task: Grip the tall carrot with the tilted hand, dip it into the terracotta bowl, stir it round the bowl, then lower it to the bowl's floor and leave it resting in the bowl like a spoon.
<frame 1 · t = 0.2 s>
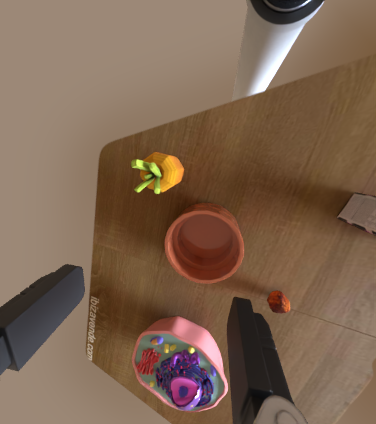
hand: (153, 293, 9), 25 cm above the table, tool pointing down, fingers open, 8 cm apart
carrot: (177, 169, 32), on the table
cell model: (184, 333, 41), on the table
mixing bowl: (206, 233, 34), on the table
meatball: (274, 294, 35), on the table
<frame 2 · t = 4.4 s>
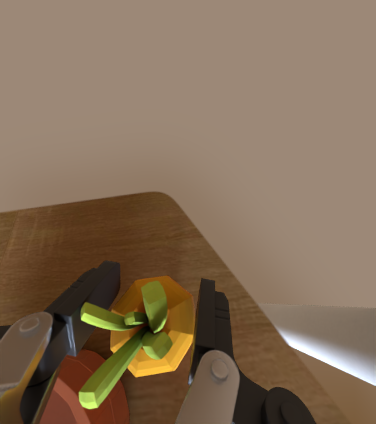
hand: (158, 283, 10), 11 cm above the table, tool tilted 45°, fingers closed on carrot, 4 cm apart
carrot: (170, 310, 19), on the table, touching gripper
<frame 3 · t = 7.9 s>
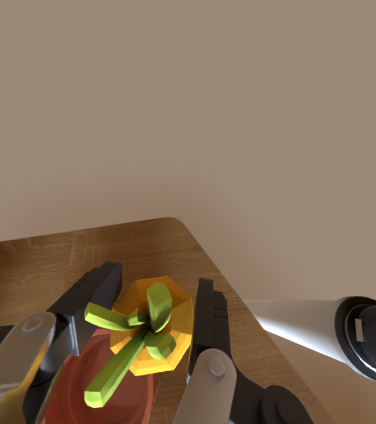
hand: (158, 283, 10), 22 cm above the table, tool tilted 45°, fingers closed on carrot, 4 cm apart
carrot: (166, 309, 20), point 11 cm above the table, touching gripper
mixing bowl: (118, 371, 26), on the table
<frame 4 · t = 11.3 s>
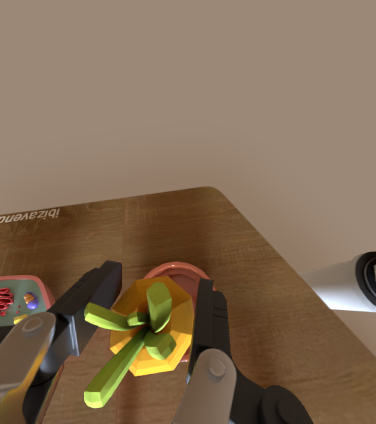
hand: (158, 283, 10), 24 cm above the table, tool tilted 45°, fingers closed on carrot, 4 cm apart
carrot: (166, 310, 19), point 13 cm above the table, touching gripper
cell model: (25, 339, 29), on the table
mixing bowl: (178, 305, 31), on the table
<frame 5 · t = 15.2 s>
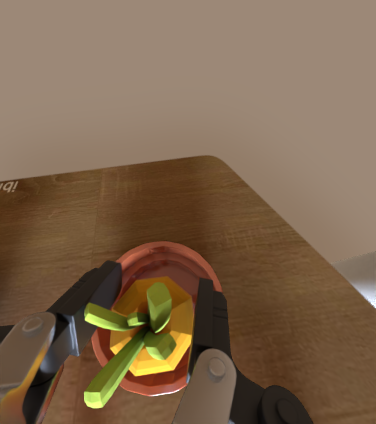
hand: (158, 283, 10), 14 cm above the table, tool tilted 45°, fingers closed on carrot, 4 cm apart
carrot: (166, 310, 19), point 3 cm above the table, touching gripper
mixing bowl: (166, 304, 22), on the table
when the fingers open (12 cm above the table, at t = 18.5 s): carrot stays where it is, resting on mixing bowl.
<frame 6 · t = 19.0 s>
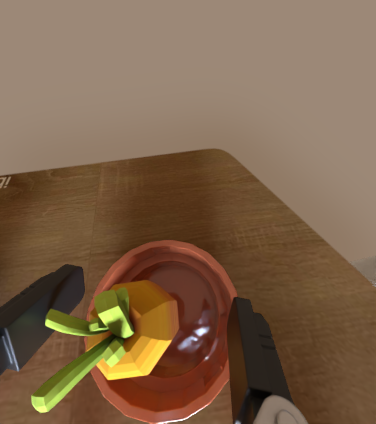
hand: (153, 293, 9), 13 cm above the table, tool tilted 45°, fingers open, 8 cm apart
carrot: (166, 312, 20), point 1 cm above the table, touching mixing bowl
mixing bowl: (171, 310, 20), on the table
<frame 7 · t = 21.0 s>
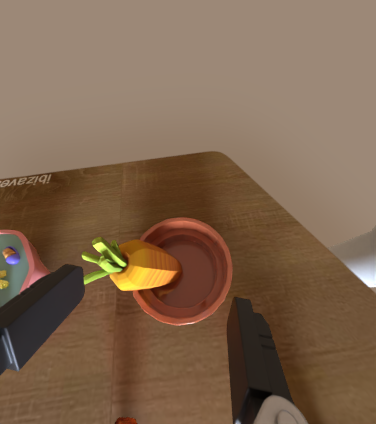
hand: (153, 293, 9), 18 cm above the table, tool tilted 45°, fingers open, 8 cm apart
carrot: (181, 270, 27), point 1 cm above the table, touching mixing bowl
cell model: (9, 309, 26), on the table
mixing bowl: (182, 272, 27), on the table
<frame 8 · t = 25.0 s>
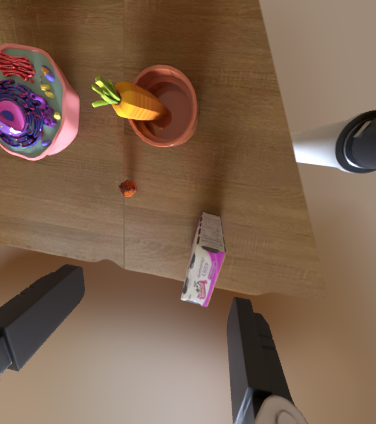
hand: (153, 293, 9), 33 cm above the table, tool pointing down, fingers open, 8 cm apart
carrot: (167, 113, 36), point 1 cm above the table, touching mixing bowl
cell model: (58, 113, 40), on the table
mixing bowl: (169, 115, 37), on the table
candy bar box: (205, 233, 44), on the table
meatball: (131, 186, 43), on the table
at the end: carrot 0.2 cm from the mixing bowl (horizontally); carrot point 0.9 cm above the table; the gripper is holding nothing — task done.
